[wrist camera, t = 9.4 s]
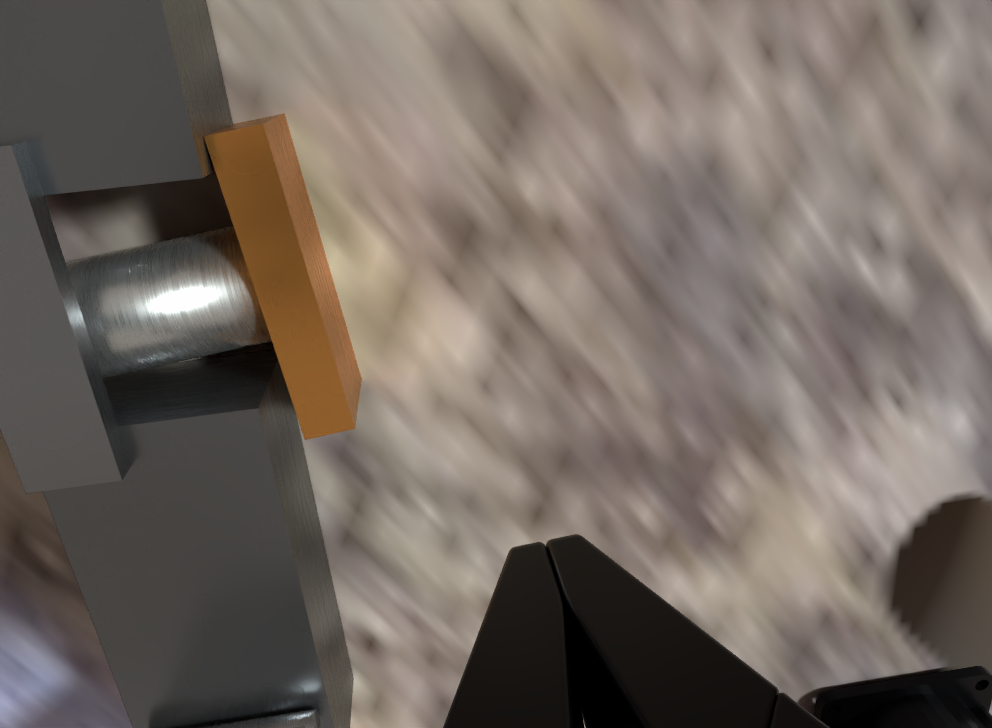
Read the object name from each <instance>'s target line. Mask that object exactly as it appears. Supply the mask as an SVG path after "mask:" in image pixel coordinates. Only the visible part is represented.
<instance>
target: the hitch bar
mask: <svg viewBox="0 0 992 728" xmlns="http://www.w3.org/2000/svg"><path fill="white" fill-rule="evenodd" d="M231 125H233V122H232V118H231V113H230V108H229V104H228V99H227V95H226V90H225V86H224V81H223V76H222V72H221V67H220V63H219V58H218V53H217V49H216V44H215V40H214V35H213V30H212V26H211V21H210V17H209V12H208V7H207V3H206V0H0V429H1V431H2V434H3V437H4V439H5V442H6V444H7V447H8V449H9V452H10V454H11V457H12V460H13V462H14V465H15V467H16V470H17V472H18V475H19V477H20V480H21V482H22V485H23V488H24V490H25V493H34V492H41V491H43V493H44V495H45V498H46V501H47V503H48V506H49V509H50V511H51V514H52V516H53V519H54V522H55V524H56V527H57V530H58V532H59V535H60V537H61V540H62V543H63V545H64V548H65V551H66V553H67V556H68V558H69V561H70V564H71V566H72V569H73V572H74V574H75V577H76V579H77V582H78V585H79V587H80V590H81V593H82V595H83V598H84V600H85V603H86V606H87V608H88V611H89V614H90V616H91V619H92V621H93V624H94V627H95V629H96V632H97V634H98V637H99V640H100V642H101V645H102V648H103V650H104V653H105V655H106V658H107V661H108V663H109V666H110V669H111V671H112V674H113V676H114V679H115V682H116V684H117V687H118V690H119V692H120V695H121V697H122V700H123V703H124V705H125V708H126V711H127V713H128V716H129V718H130V721H131V724H132V726H133V728H200V727H206V726H212V725H219V724H225V723H231V722H237V721H244V720H250V719H256V718H263V717H269V716H275V715H281V714H288V713H294V712H300V711H306V710H313V709H317V710H318V713H319V717H320V727H321V728H350V719H351V706H352V692H353V679H354V678H353V674H352V669H351V664H350V660H349V655H348V651H347V646H346V641H345V637H344V632H343V628H342V623H341V618H340V614H339V609H338V605H337V600H336V596H335V591H334V586H333V582H332V577H331V573H330V568H329V563H328V559H327V554H326V550H325V545H324V540H323V536H322V531H321V527H320V522H319V517H318V513H317V508H316V504H315V499H314V494H313V490H312V485H311V481H310V476H309V471H308V467H307V462H306V458H305V453H304V448H303V444H302V439H301V435H300V430H299V426H298V421H297V416H296V412H295V408H294V405H293V402H292V399H291V396H290V393H289V390H288V387H287V384H286V381H285V378H284V375H283V372H282V369H281V366H280V363H279V360H278V357H277V354H276V352H275V350H271V351H263V352H255V353H247V354H239V355H231V356H223V357H215V358H207V359H199V360H191V361H183V362H175V363H170V364H166V365H161V366H157V367H152V368H148V369H143V370H139V371H134V372H130V373H125V374H121V375H116V376H112V377H107V378H102V375H101V371H100V368H99V365H98V362H97V359H96V356H95V353H94V350H93V347H92V344H91V340H90V337H89V334H88V331H87V328H86V325H85V322H84V319H83V316H82V313H81V309H80V306H79V303H78V300H77V297H76V294H75V291H74V288H73V285H72V282H71V279H70V275H69V272H68V269H67V266H66V263H65V260H64V257H63V254H62V251H61V248H60V244H59V241H58V238H57V235H56V232H55V229H54V226H53V223H52V220H51V217H50V213H49V210H48V207H47V204H46V201H45V198H44V195H53V194H62V193H71V192H80V191H90V190H99V189H108V188H117V187H126V186H135V185H145V184H154V183H163V182H172V181H181V180H190V179H200V178H204V177H206V176H207V175H209V174H210V173H212V172H213V171H215V169H214V166H213V163H212V160H211V157H210V154H209V151H208V148H207V145H206V142H205V139H204V136H206V135H208V134H211V133H213V132H216V131H218V130H221V129H223V128H226V127H228V126H231Z"/></svg>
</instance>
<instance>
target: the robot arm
mask: <svg viewBox="0 0 992 728" xmlns="http://www.w3.org/2000/svg"><path fill="white" fill-rule="evenodd" d="M991 700H992V674H991V673H990V672H989V671H988V670H987V669H986V668H984V667H982V666H974V667H968V668H962V669H956V670H950V671H944V672H938V673H932V674H926V675H920V676H914V677H908V678H902V679H896V680H890V681H884V682H878V683H872V684H866V685H860V686H854V687H847V688H841V689H835V690H830V691H826V692H824V693H823V694H821V695H820V696H819V697H818V698H817V700H816V703H815V712H814V716H813V715H812V714H811V713H809V712H808V711H807V710H806V709H804V708H803V707H802V706H800V705H799V704H798V703H797V702H795V701H794V700H793V699H791V698H790V697H789V696H788V695H786V694H785V693H779V691H778V689H777V687H776V686H774V685H773V684H772V683H770V682H769V681H768V680H767V679H765V678H764V677H763V676H761V675H760V674H759V673H757V672H756V671H755V670H754V669H752V668H751V667H750V666H748V665H747V664H746V663H745V662H743V661H742V660H741V659H739V658H738V657H737V656H736V655H734V654H733V653H732V652H730V651H729V650H728V649H727V648H725V647H724V646H723V645H721V644H720V643H719V642H718V641H716V640H715V639H714V638H712V637H711V636H710V635H709V634H707V633H706V632H705V631H703V630H702V629H701V628H700V627H698V626H697V625H696V624H694V623H693V622H692V621H690V620H689V619H688V618H687V617H685V616H684V615H683V614H681V613H680V612H679V611H678V610H676V609H675V608H674V607H672V606H671V605H670V604H669V603H667V602H666V601H665V600H663V599H662V598H661V597H660V596H658V595H657V594H656V593H654V592H653V591H652V590H651V589H649V588H648V587H647V586H645V585H644V584H643V583H642V582H640V581H639V580H638V579H636V578H635V577H634V576H633V575H631V574H630V573H629V572H627V571H626V570H625V569H624V568H622V567H621V566H620V565H618V564H617V563H616V562H614V561H613V560H612V559H611V558H609V557H608V556H607V555H605V554H604V553H603V552H602V551H600V550H599V549H598V548H596V547H595V546H594V545H593V544H591V543H590V542H589V541H587V540H586V539H585V538H584V537H582V536H580V535H577V534H575V535H570V536H565V537H560V538H556V539H551V540H549V541H548V542H547V544H546V546H545V545H544V544H543V543H541V542H536V543H531V544H526V545H521V546H517V547H513V548H512V549H511V550H510V551H509V553H508V555H507V558H506V561H505V564H504V566H503V569H502V572H501V574H500V577H499V580H498V582H497V585H496V588H495V590H494V593H493V596H492V598H491V601H490V604H489V606H488V609H487V612H486V614H485V617H484V620H483V622H482V625H481V628H480V630H479V633H478V636H477V638H476V641H475V644H474V646H473V649H472V652H471V654H470V657H469V660H468V662H467V665H466V668H465V670H464V673H463V676H462V678H461V681H460V684H459V686H458V689H457V692H456V695H455V697H454V700H453V703H452V705H451V708H450V711H449V713H448V716H447V719H446V721H445V724H444V727H443V728H584V724H585V727H586V728H992V715H991V714H990V713H989V709H990V705H991ZM583 720H584V722H583Z"/></svg>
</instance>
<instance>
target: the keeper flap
mask: <svg viewBox="0 0 992 728" xmlns="http://www.w3.org/2000/svg"><path fill="white" fill-rule="evenodd" d="M200 728H321V727H320V717H319V713H318V710H317V709H313V710H306V711H300V712H294V713H288V714H281V715H275V716H269V717H263V718H256V719H250V720H244V721H237V722H231V723H225V724H219V725H212V726H206V727H200Z"/></svg>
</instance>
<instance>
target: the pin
mask: <svg viewBox="0 0 992 728" xmlns="http://www.w3.org/2000/svg"><path fill="white" fill-rule="evenodd" d="M204 139H205V142H206V145H207V148H208V151H209V154H210V157H211V160H212V163H213V166H214V169H215V172H216V175H217V178H218V181H219V184H220V187H221V190H222V193H223V196H224V199H225V202H226V205H227V208H228V211H229V214H230V217H231V220H232V223H233V226H231V227H227V228H222V229H217V230H213V231H208V232H204V233H199V234H194V235H190V236H185V237H180V238H176V239H171V240H167V241H162V242H157V243H153V244H148V245H143V246H139V247H134V248H129V249H125V250H120V251H116V252H111V253H106V254H102V255H97V256H92V257H88V258H83V259H78V260H74V261H69V262H65V263H66V266H67V269H68V272H69V275H70V279H71V282H72V285H73V288H74V291H75V294H76V297H77V300H78V303H79V306H80V309H81V313H82V316H83V319H84V322H85V325H86V328H87V331H88V334H89V337H90V340H91V344H92V347H93V350H94V353H95V356H96V359H97V362H98V365H99V368H100V371H101V375H102V378H107V377H112V376H116V375H121V374H125V373H130V372H134V371H139V370H143V369H148V368H152V367H157V366H161V365H166V364H170V363H175V362H179V361H184V360H188V359H193V358H198V357H202V356H207V355H211V354H216V353H220V352H225V351H229V350H234V349H238V348H243V347H247V346H252V345H256V344H261V343H265V342H270V341H272V343H273V346H274V349H275V352H276V354H277V357H278V360H279V363H280V366H281V369H282V372H283V375H284V378H285V381H286V384H287V387H288V390H289V393H290V396H291V399H292V402H293V405H294V408H295V411H296V414H297V417H298V420H299V423H300V426H301V429H302V432H303V435H304V438H305V440H306V439H311V438H315V437H320V436H324V435H328V434H333V433H337V432H342V431H346V430H351V429H355V425H356V418H357V410H358V402H359V394H360V387H361V375H360V372H359V368H358V365H357V361H356V358H355V355H354V351H353V348H352V344H351V341H350V337H349V334H348V330H347V327H346V324H345V320H344V317H343V313H342V310H341V306H340V303H339V300H338V296H337V293H336V289H335V286H334V282H333V279H332V275H331V272H330V269H329V265H328V262H327V258H326V255H325V251H324V248H323V244H322V241H321V238H320V234H319V231H318V227H317V224H316V220H315V217H314V214H313V210H312V207H311V203H310V200H309V196H308V193H307V189H306V186H305V183H304V179H303V176H302V172H301V169H300V165H299V162H298V158H297V155H296V152H295V148H294V145H293V141H292V138H291V134H290V131H289V127H288V124H287V121H286V117H285V114H279V115H275V116H270V117H265V118H261V119H256V120H251V121H246V122H242V123H237V124H233V125H231V126H228V127H226V128H223V129H221V130H218V131H216V132H213V133H211V134H208V135H206V136H204Z"/></svg>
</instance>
